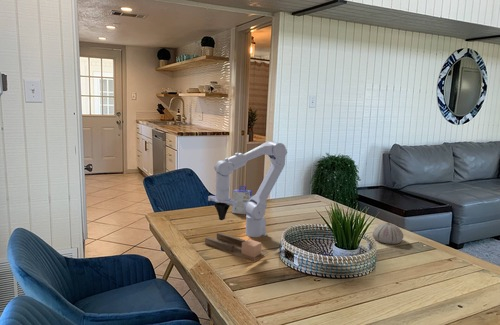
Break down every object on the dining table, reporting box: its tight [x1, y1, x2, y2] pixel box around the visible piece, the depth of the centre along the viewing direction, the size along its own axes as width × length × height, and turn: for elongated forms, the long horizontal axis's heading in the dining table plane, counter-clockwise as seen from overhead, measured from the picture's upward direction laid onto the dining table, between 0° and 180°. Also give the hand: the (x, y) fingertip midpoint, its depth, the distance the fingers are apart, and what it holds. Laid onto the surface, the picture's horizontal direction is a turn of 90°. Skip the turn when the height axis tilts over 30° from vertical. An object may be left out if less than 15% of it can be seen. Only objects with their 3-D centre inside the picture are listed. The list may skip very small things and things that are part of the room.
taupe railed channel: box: [202, 231, 269, 264], centre depth 159 cm, size 14×26×4 cm, turn 55°
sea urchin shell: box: [372, 222, 404, 245], centre depth 176 cm, size 13×14×8 cm
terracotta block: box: [242, 238, 263, 257], centre depth 153 cm, size 5×6×4 cm
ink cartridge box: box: [231, 185, 253, 215], centre depth 208 cm, size 10×6×14 cm, turn 78°
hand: (221, 219), depth 167 cm, fingers closed
